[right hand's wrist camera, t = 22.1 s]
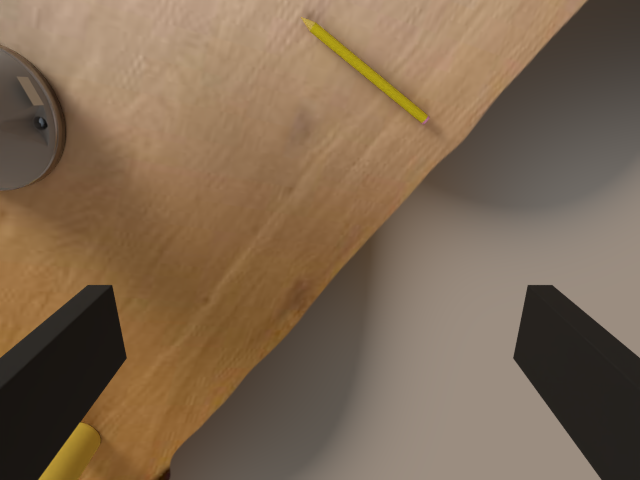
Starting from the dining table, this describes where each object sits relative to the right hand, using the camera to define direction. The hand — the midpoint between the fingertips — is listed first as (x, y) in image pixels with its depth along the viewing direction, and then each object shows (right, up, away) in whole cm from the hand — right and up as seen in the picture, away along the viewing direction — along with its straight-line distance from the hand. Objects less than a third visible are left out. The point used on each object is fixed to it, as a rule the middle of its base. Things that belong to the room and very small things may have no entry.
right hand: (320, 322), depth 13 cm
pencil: (+5, +20, +29) cm, 36 cm away
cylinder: (-35, -26, +46) cm, 64 cm away
